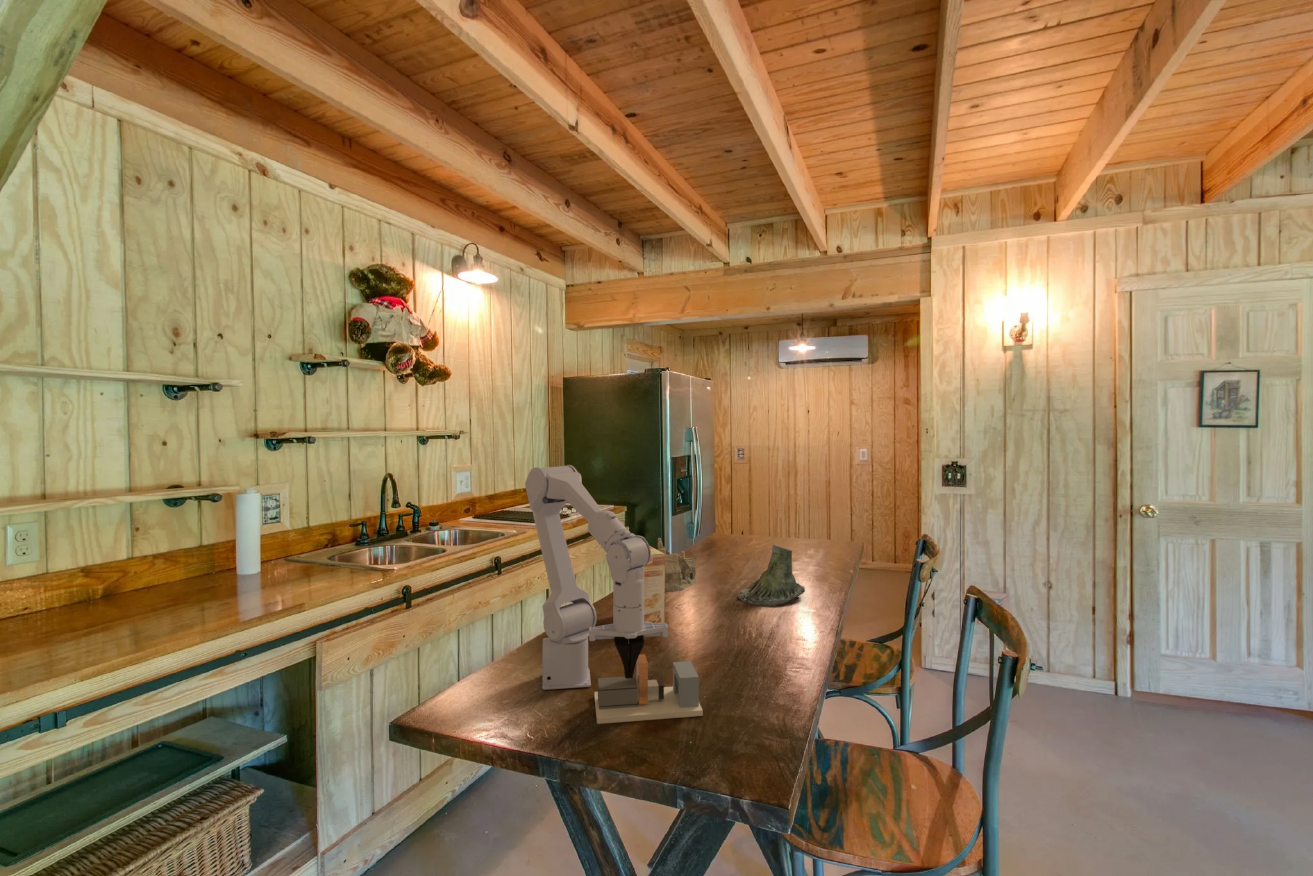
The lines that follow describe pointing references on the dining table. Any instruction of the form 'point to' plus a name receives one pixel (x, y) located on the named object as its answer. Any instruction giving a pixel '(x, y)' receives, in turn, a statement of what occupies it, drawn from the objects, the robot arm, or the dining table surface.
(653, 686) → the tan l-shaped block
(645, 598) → the coffeecake box
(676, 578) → the ceramic cottage
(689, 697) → the socket block
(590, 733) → the dining table surface
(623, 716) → the cream rectangular panel
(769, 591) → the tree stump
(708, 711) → the dining table surface
